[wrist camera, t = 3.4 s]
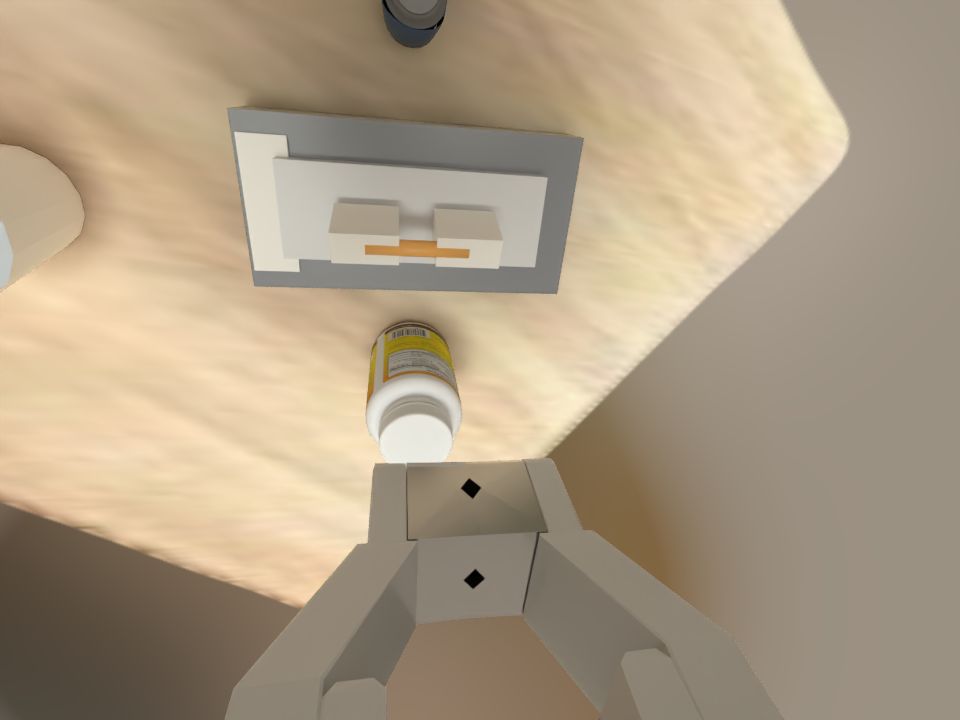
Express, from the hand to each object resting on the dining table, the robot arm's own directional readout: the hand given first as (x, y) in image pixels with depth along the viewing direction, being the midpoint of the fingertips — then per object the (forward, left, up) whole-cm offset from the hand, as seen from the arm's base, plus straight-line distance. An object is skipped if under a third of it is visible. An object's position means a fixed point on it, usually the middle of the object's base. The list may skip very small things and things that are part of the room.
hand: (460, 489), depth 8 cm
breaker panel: (0, 0, -24) cm, 24 cm away
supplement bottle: (+10, 0, -25) cm, 27 cm away
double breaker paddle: (0, 0, -20) cm, 20 cm away
